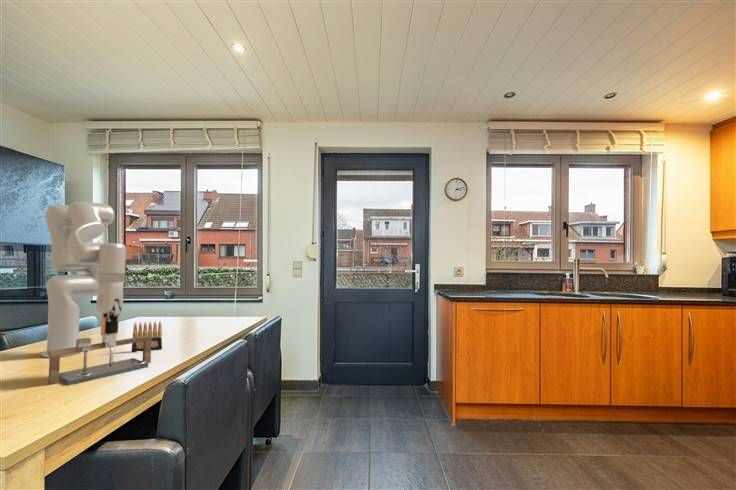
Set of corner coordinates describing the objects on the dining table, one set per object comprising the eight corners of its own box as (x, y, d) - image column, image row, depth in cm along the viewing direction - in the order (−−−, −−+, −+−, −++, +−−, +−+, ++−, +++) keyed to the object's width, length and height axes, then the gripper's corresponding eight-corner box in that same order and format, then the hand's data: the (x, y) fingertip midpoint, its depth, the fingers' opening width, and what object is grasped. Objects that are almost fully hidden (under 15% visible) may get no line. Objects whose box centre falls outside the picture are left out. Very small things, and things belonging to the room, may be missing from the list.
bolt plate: (56, 377, 110) (56, 373, 110) (135, 360, 129) (135, 357, 129) (68, 385, 103) (68, 380, 104) (150, 366, 122) (150, 362, 122)
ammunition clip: (131, 352, 141) (132, 323, 141) (132, 351, 142) (133, 322, 143) (161, 349, 145) (162, 321, 146) (162, 348, 147) (162, 320, 148)
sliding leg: (99, 365, 116) (101, 316, 117) (113, 363, 119) (115, 315, 120) (104, 368, 114) (106, 318, 114) (118, 365, 117) (120, 316, 118)
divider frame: (46, 383, 105) (48, 343, 106) (148, 361, 128) (149, 328, 129) (51, 386, 103) (53, 345, 103) (153, 363, 126) (155, 330, 126)
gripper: (89, 278, 120) (87, 331, 119) (107, 280, 110) (105, 337, 110) (114, 277, 126) (112, 328, 125) (134, 279, 117) (132, 333, 116)
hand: (109, 332), depth 117 cm, fingers closed on sliding leg, 3 cm apart
